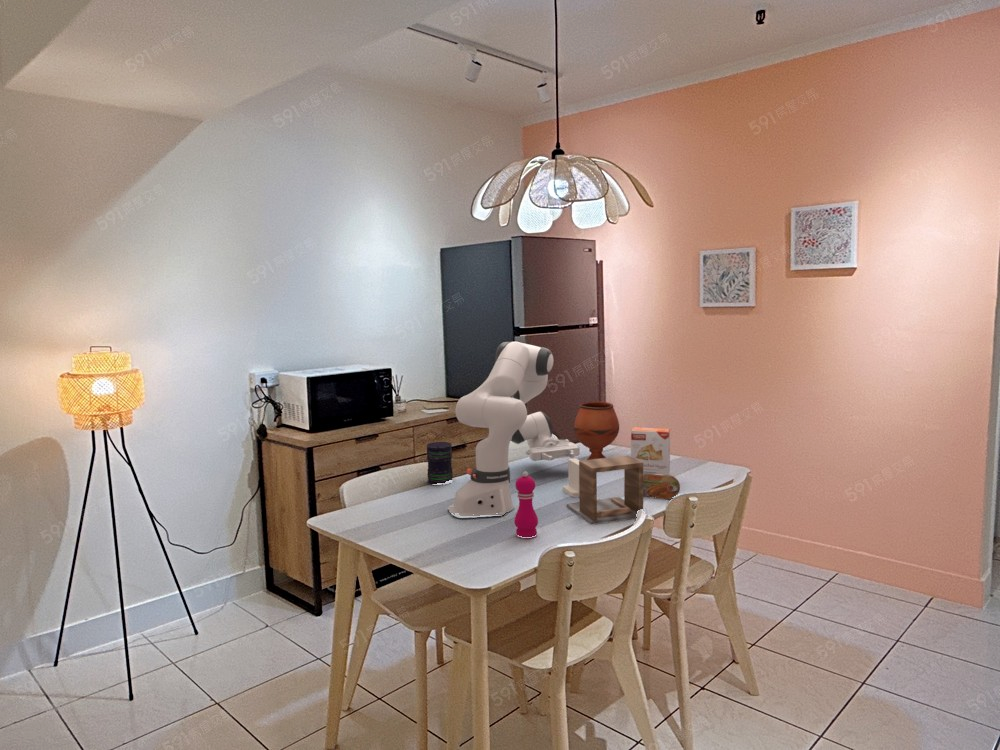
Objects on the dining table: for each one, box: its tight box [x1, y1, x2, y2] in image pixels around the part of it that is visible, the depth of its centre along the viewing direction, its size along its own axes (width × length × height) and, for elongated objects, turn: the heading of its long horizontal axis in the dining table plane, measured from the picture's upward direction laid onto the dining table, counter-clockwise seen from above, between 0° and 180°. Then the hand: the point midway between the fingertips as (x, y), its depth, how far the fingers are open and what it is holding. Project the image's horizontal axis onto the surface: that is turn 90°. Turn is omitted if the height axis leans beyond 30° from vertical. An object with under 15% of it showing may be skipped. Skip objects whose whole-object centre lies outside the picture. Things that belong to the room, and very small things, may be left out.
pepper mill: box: [513, 470, 539, 537], centre depth 207 cm, size 7×7×20 cm
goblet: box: [573, 400, 620, 460], centre depth 289 cm, size 19×19×25 cm
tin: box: [643, 473, 681, 500], centre depth 241 cm, size 15×3×8 cm, turn 62°
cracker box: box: [630, 426, 671, 475], centre depth 257 cm, size 14×6×21 cm, turn 71°
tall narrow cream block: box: [562, 457, 581, 498], centre depth 249 cm, size 8×9×12 cm
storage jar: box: [426, 441, 454, 486], centre depth 266 cm, size 10×10×15 cm
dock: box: [566, 455, 644, 525], centre depth 227 cm, size 20×19×18 cm
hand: (561, 457), depth 263 cm, fingers open, 8 cm apart
